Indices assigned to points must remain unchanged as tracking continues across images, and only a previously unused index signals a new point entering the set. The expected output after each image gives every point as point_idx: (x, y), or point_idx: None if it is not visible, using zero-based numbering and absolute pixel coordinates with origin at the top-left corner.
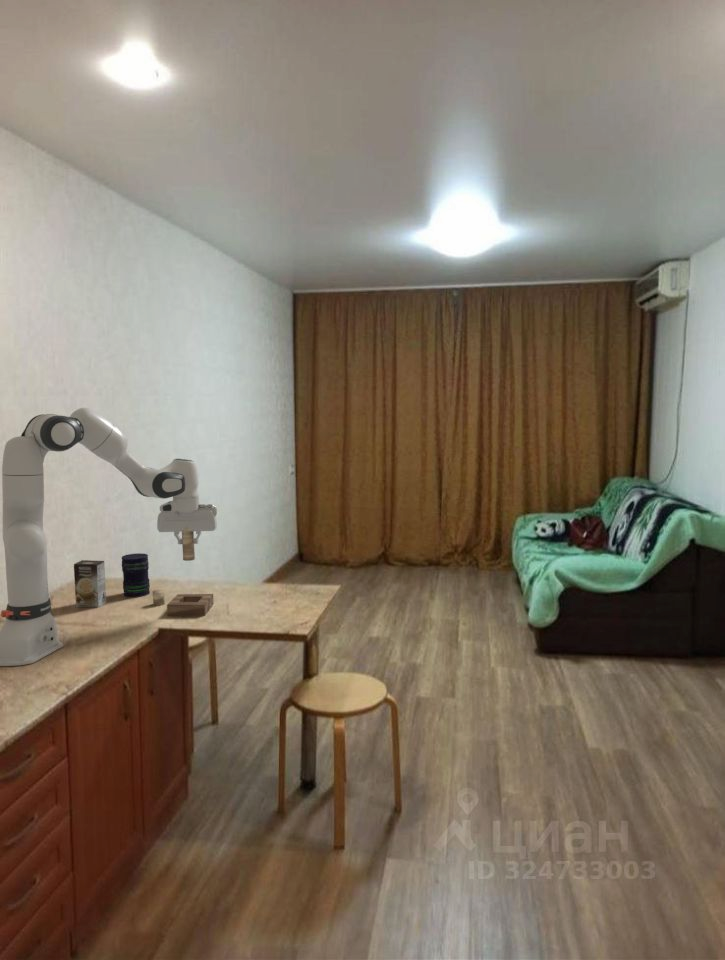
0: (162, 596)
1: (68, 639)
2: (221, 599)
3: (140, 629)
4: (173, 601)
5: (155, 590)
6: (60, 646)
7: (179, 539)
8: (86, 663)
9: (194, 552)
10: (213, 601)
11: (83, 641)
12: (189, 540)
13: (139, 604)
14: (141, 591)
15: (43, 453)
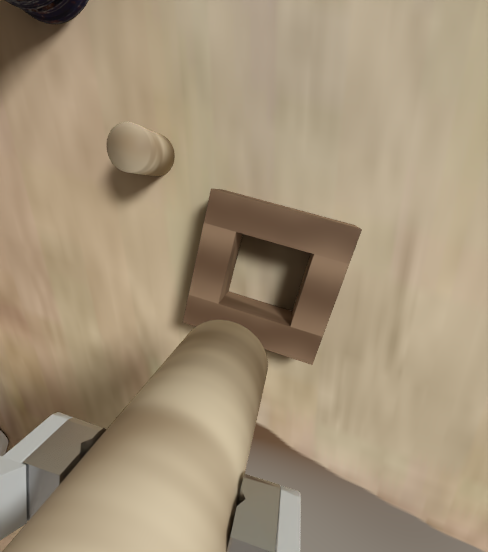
0: (155, 166)
1: (2, 400)
2: (396, 154)
3: None
4: (201, 289)
5: (115, 136)
6: (4, 449)
7: (28, 516)
8: None
9: (259, 401)
10: (356, 226)
11: (36, 425)
12: None
13: (91, 139)
14: (61, 2)
15: None
